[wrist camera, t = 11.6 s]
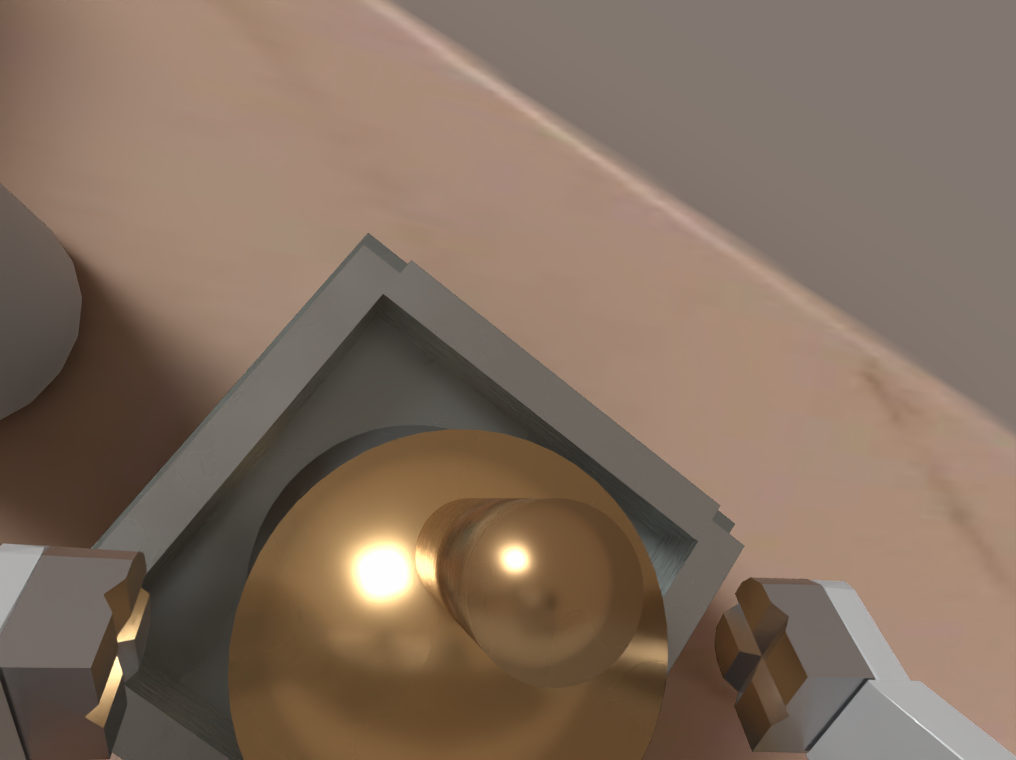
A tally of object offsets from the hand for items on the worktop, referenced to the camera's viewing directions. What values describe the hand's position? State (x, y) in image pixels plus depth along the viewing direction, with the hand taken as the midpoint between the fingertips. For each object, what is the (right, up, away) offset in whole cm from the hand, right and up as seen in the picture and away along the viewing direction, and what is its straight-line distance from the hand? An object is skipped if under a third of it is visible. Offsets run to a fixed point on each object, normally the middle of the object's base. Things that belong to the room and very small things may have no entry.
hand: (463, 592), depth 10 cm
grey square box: (-3, -3, +14) cm, 14 cm away
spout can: (-2, -2, +6) cm, 7 cm away
